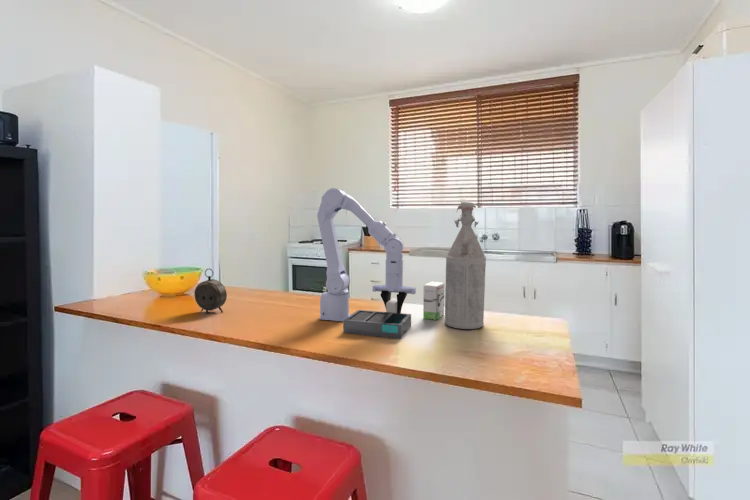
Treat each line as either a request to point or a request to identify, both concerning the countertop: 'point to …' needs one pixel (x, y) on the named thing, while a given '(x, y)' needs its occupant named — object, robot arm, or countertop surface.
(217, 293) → the alarm clock
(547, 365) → the countertop surface
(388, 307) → the block
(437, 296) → the ink box
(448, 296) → the grey bottle
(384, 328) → the rack
